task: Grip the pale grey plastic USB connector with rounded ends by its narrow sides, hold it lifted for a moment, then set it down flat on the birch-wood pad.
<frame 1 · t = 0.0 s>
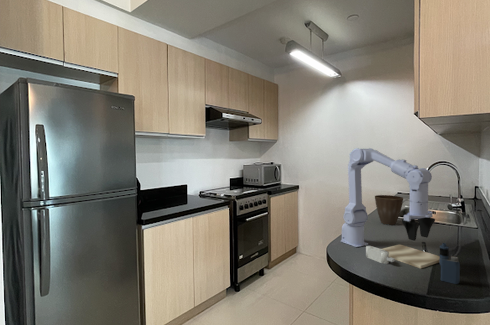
hand: (418, 238, 99), 10 cm above the worktop, tool pointing down, fingers open, 7 cm apart
usb connector: (377, 259, 105), on the worktop
wood pad: (409, 256, 108), on the worktop
vaping device: (449, 281, 87), on the worktop
plant pot: (388, 224, 160), on the worktop
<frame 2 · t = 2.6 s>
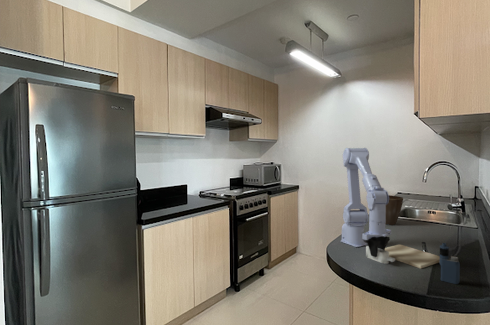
hand: (377, 255, 105), 2 cm above the worktop, tool pointing down, fingers closed on usb connector, 3 cm apart
usb connector: (377, 259, 105), on the worktop, touching gripper
everything else where it was.
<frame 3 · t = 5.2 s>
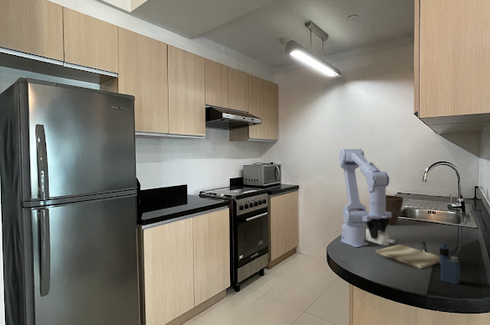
hand: (377, 237, 105), 9 cm above the worktop, tool pointing down, fingers closed on usb connector, 3 cm apart
usb connector: (377, 241, 105), point 7 cm above the worktop, touching gripper
everything else where it was.
when the fingers open (4 cm above the worktop, at t = 8.0 s): usb connector drops 1 cm, resting on wood pad.
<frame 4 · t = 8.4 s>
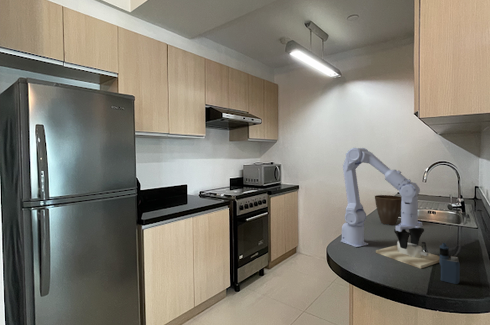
hand: (409, 246, 108), 4 cm above the worktop, tool pointing down, fingers open, 7 cm apart
usb connector: (409, 254, 108), point 1 cm above the worktop, touching wood pad
everything else where it was.
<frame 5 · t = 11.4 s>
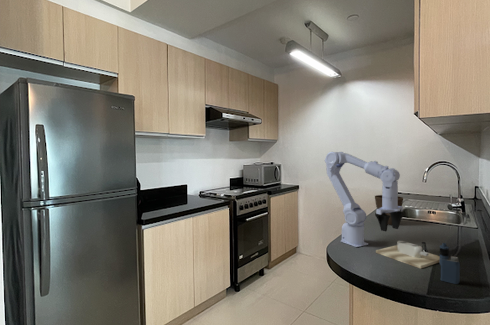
hand: (389, 229, 113), 9 cm above the worktop, tool pointing down, fingers open, 7 cm apart
nothing on the worktop moved.
at the end: usb connector inside the target area on the wood pad (0.1 cm from its centre), point 1.0 cm above the wood pad's base; usb connector tilted 0°; the gripper is holding nothing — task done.
